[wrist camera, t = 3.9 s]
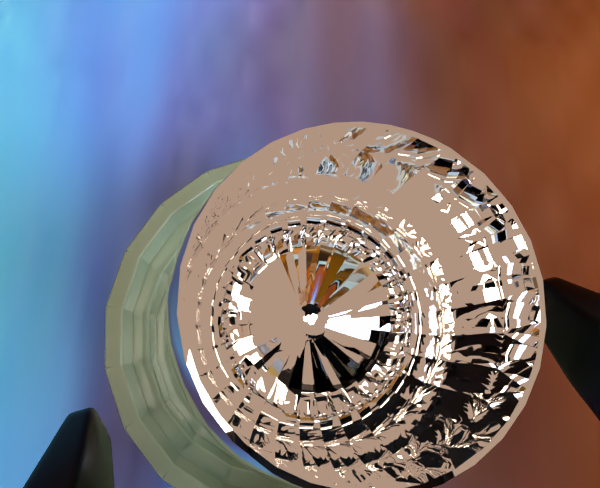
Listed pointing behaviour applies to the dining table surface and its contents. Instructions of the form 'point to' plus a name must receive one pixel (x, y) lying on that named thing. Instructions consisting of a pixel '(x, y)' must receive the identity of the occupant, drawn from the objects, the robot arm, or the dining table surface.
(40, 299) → the dining table surface
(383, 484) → the wineglass
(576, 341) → the robot arm
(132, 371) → the dish
